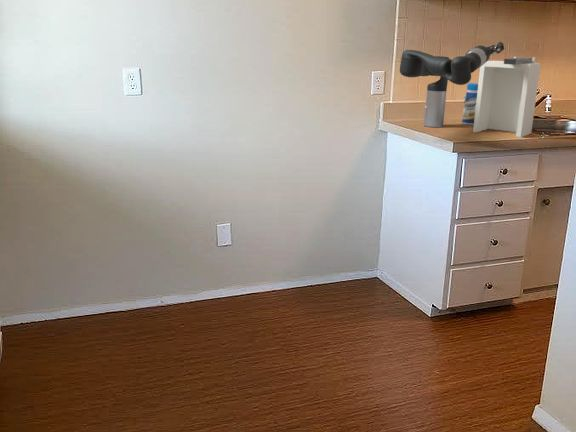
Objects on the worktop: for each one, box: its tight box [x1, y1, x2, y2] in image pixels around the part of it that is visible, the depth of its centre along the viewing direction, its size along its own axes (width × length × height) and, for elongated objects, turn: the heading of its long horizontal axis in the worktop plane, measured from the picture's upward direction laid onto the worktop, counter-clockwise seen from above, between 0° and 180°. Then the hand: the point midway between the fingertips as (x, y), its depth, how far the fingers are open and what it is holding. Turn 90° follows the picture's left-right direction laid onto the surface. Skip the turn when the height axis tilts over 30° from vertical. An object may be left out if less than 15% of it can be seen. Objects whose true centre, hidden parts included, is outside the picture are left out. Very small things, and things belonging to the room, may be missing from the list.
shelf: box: [472, 56, 542, 138], centre depth 287 cm, size 22×16×34 cm
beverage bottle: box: [461, 82, 478, 126], centre depth 313 cm, size 8×8×20 cm
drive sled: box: [503, 56, 533, 65], centre depth 275 cm, size 5×24×2 cm, turn 143°
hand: (490, 46), depth 257 cm, fingers open, 8 cm apart
